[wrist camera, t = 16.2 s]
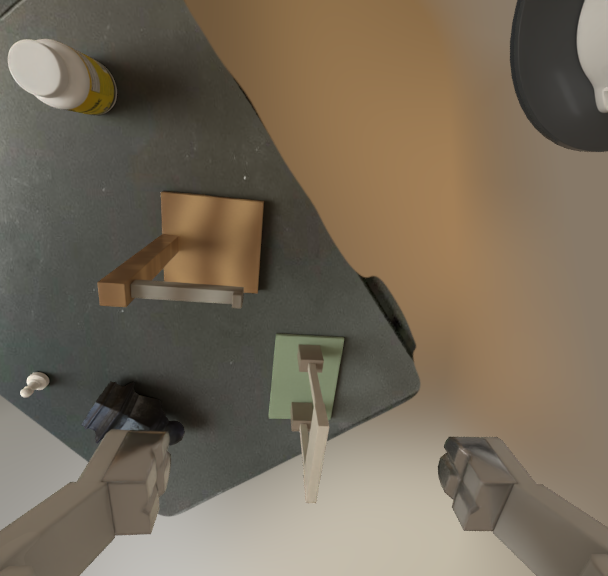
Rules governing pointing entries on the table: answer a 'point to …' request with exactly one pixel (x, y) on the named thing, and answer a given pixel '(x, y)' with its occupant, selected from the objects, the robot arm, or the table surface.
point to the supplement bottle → (62, 76)
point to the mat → (302, 373)
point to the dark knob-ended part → (129, 414)
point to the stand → (194, 254)
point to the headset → (311, 421)
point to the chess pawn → (35, 383)
